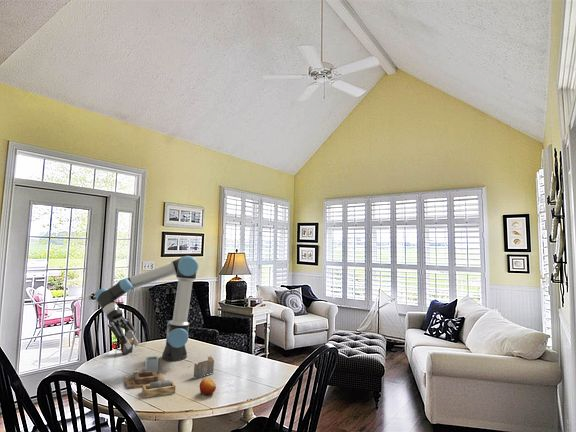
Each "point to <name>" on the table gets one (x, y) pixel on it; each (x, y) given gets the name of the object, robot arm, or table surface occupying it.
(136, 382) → the cradle
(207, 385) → the fruit
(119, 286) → the robot arm
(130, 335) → the cell
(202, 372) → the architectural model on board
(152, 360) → the cup
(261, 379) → the table surface
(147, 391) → the trough
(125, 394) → the table surface
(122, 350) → the mug
